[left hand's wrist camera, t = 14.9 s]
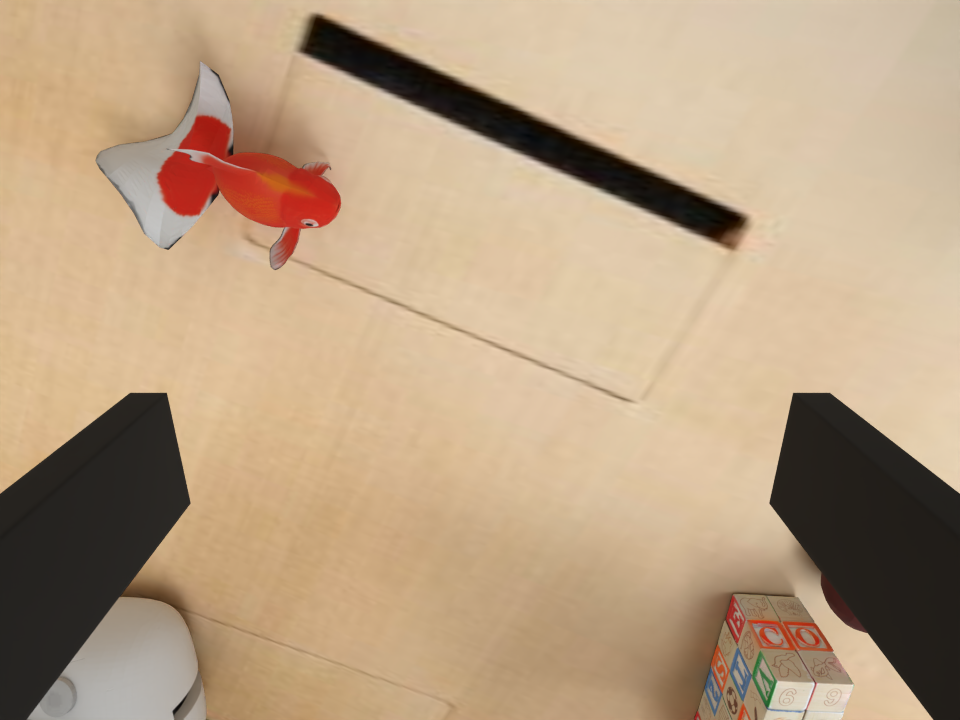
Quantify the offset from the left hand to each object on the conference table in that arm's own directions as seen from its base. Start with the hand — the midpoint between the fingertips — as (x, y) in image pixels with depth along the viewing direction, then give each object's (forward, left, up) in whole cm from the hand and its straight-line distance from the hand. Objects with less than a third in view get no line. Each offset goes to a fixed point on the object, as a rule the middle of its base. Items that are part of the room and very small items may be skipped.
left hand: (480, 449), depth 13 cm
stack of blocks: (0, +50, -31) cm, 59 cm away
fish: (+12, -11, -31) cm, 35 cm away
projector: (+51, +16, -31) cm, 62 cm away
